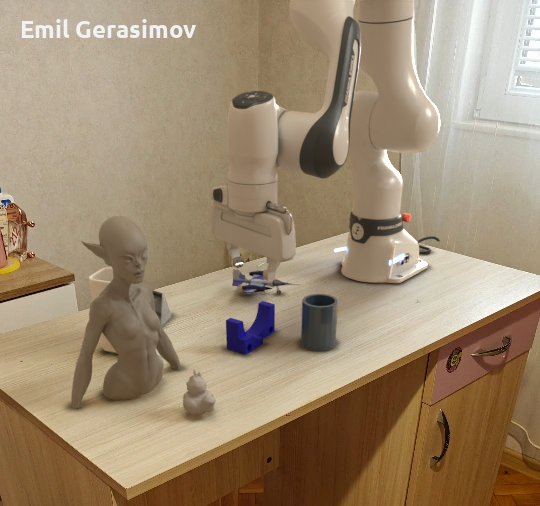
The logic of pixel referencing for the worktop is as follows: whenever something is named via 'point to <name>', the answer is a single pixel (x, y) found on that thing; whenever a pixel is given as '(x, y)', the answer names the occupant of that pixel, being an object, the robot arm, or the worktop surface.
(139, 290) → the elf figurine
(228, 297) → the worktop surface
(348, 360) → the worktop surface
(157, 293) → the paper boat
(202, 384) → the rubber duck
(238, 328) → the blue half clamp bracket
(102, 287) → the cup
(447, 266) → the worktop surface
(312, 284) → the worktop surface
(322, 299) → the tumbler
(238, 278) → the toy airplane
